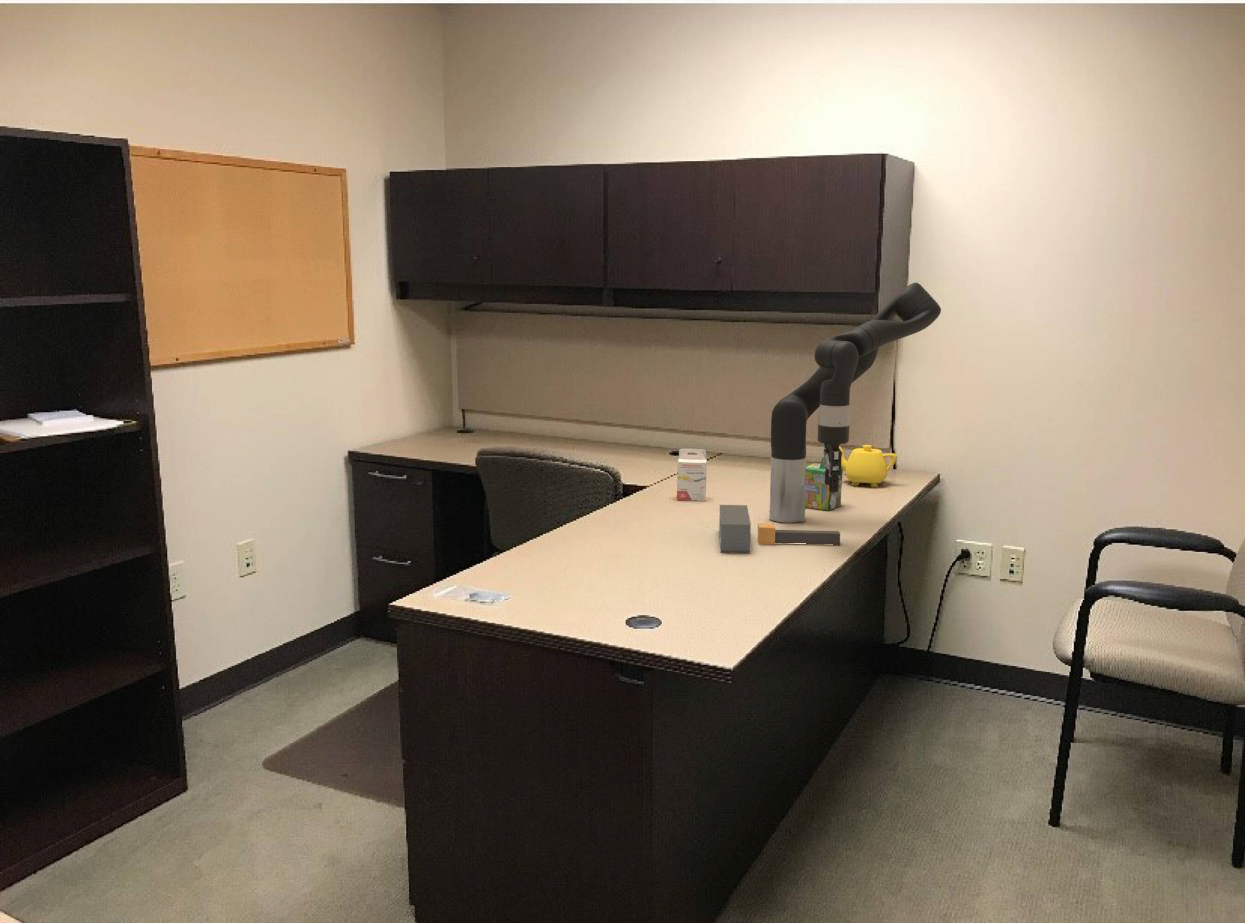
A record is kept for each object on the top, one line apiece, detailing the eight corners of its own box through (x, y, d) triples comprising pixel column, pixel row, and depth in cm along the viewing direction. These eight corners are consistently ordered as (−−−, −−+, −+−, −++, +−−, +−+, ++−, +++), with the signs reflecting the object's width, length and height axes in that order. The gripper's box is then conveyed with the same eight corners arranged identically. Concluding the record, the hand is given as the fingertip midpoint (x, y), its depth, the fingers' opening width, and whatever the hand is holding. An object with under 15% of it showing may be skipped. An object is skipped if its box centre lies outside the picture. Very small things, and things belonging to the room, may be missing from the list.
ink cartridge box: (676, 500, 299) (677, 451, 296) (677, 496, 304) (677, 448, 301) (705, 501, 298) (706, 451, 295) (706, 497, 303) (707, 448, 300)
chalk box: (812, 501, 299) (814, 451, 296) (841, 505, 294) (844, 454, 291) (798, 507, 291) (800, 456, 288) (829, 511, 286) (831, 459, 283)
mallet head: (746, 531, 265) (746, 505, 263) (749, 552, 245) (750, 524, 244) (719, 530, 265) (719, 504, 264) (720, 552, 246) (721, 524, 244)
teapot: (834, 477, 332) (835, 439, 330) (897, 481, 325) (899, 443, 323) (828, 485, 320) (829, 446, 317) (893, 490, 313) (895, 450, 311)
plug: (837, 541, 255) (838, 524, 255) (840, 546, 251) (841, 529, 250) (757, 539, 257) (758, 523, 256) (758, 544, 253) (759, 527, 252)
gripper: (853, 427, 240) (850, 494, 243) (845, 418, 254) (842, 482, 257) (821, 427, 241) (819, 494, 244) (815, 418, 255) (812, 481, 258)
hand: (831, 488), depth 251 cm, fingers open, 8 cm apart
